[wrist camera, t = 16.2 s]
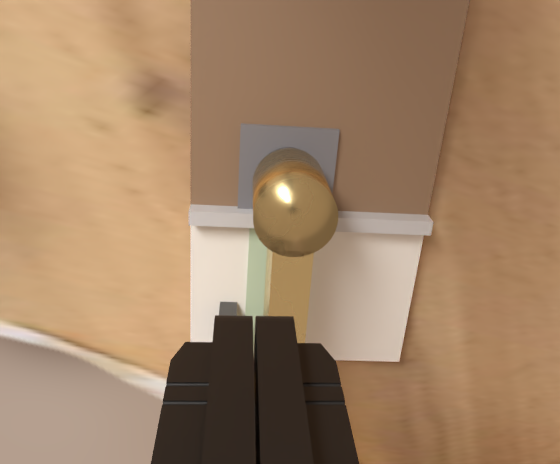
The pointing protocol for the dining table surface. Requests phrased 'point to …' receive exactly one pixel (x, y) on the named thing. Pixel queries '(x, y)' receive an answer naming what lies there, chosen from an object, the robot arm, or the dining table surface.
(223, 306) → the door mockup
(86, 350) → the dining table surface
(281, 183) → the swing bar
